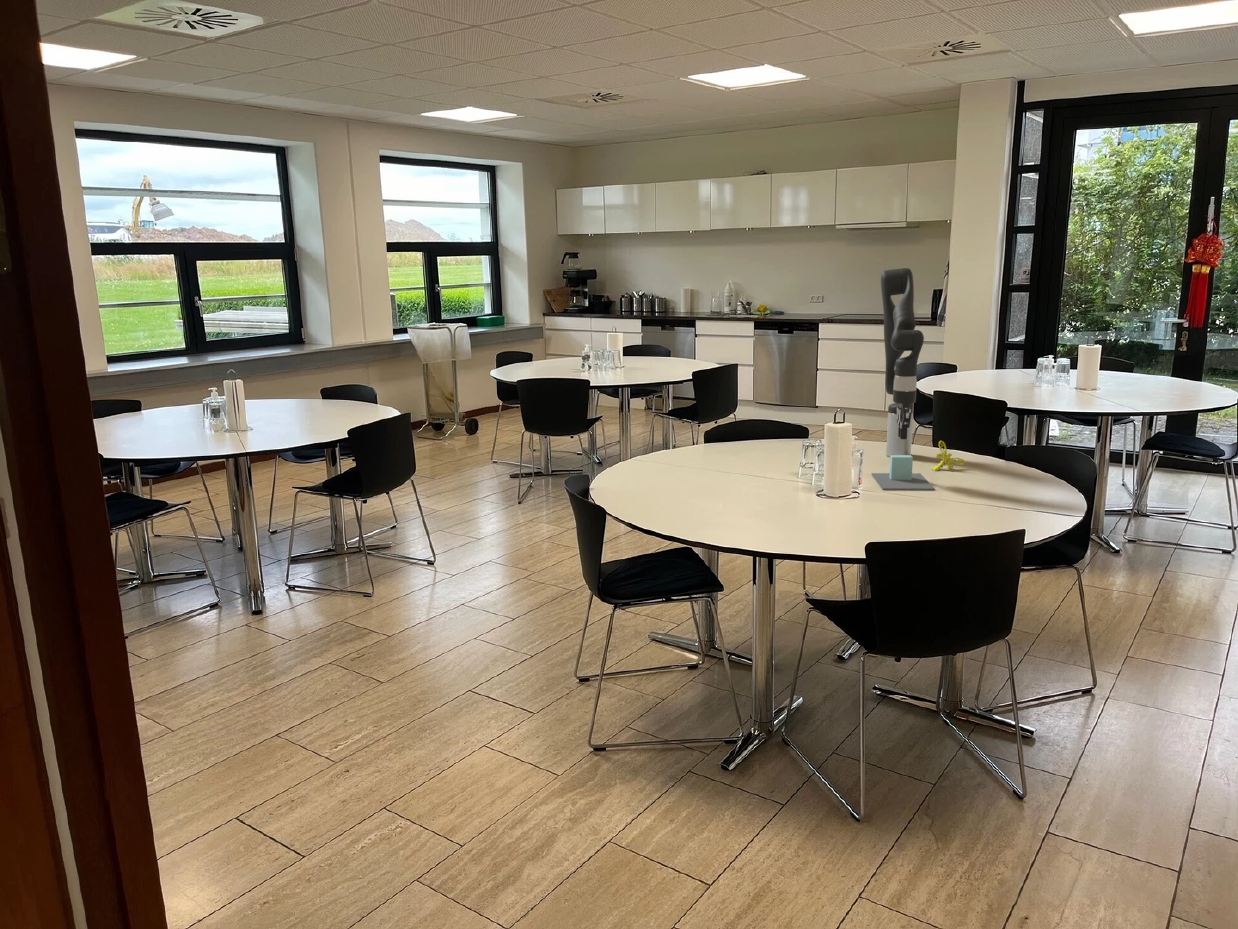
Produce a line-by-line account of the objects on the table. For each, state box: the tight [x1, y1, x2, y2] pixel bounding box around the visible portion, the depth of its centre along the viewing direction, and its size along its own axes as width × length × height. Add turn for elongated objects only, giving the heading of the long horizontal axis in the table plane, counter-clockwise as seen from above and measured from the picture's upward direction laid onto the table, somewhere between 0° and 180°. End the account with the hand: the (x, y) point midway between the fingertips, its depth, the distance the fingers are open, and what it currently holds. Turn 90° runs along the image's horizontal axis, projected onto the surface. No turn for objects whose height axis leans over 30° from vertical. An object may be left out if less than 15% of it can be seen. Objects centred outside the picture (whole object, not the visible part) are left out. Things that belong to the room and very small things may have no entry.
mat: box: [871, 472, 936, 491], centre depth 315 cm, size 22×17×1 cm
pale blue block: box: [889, 455, 914, 480], centre depth 317 cm, size 4×7×8 cm, turn 84°
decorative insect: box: [930, 440, 966, 472], centre depth 331 cm, size 13×3×10 cm
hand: (902, 437), depth 314 cm, fingers open, 3 cm apart
